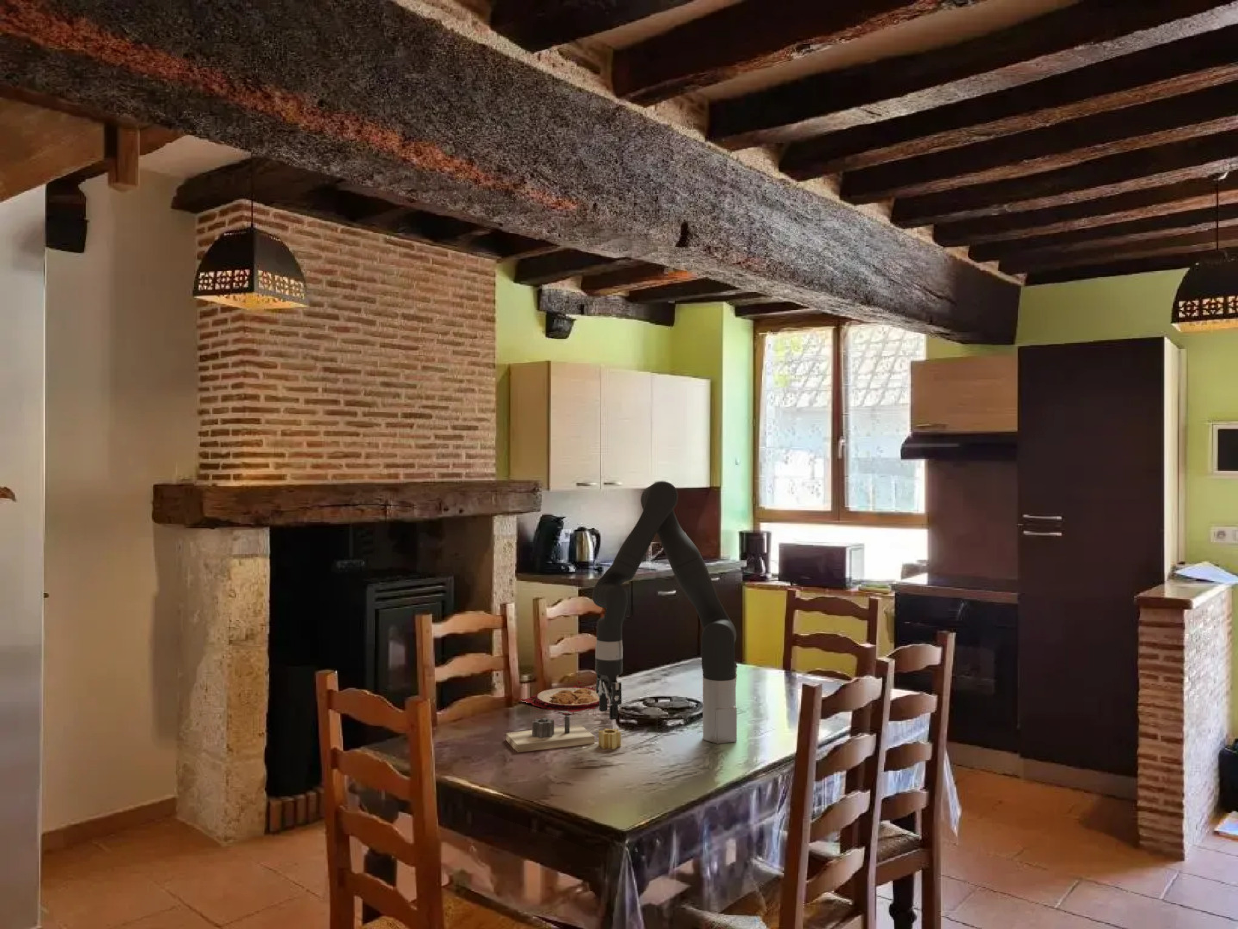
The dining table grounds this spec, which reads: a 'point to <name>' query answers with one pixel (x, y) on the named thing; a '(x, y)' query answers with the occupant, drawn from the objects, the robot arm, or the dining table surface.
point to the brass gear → (610, 738)
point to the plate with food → (566, 698)
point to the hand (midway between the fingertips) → (608, 715)
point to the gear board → (549, 736)
